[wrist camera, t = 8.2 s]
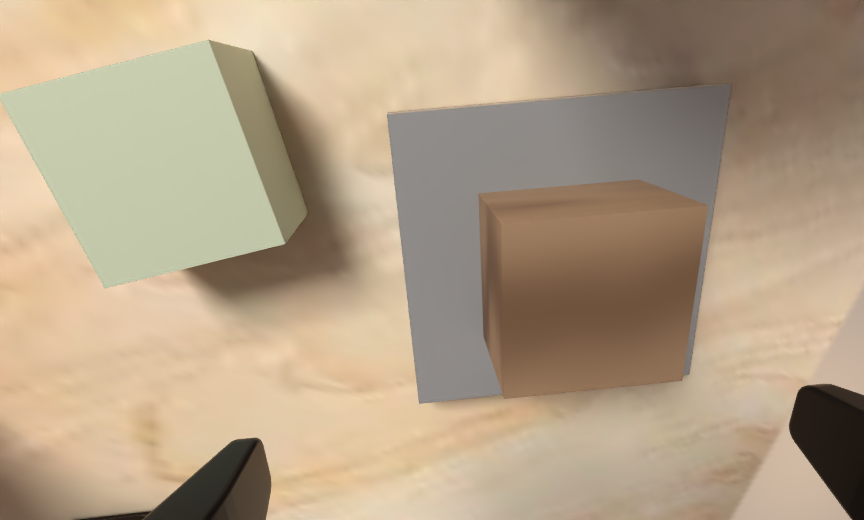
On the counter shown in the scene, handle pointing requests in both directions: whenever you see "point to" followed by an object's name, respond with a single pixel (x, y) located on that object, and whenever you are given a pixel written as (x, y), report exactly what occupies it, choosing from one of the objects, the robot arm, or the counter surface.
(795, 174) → the counter surface
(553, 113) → the plate
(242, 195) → the sage block
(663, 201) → the walnut block
